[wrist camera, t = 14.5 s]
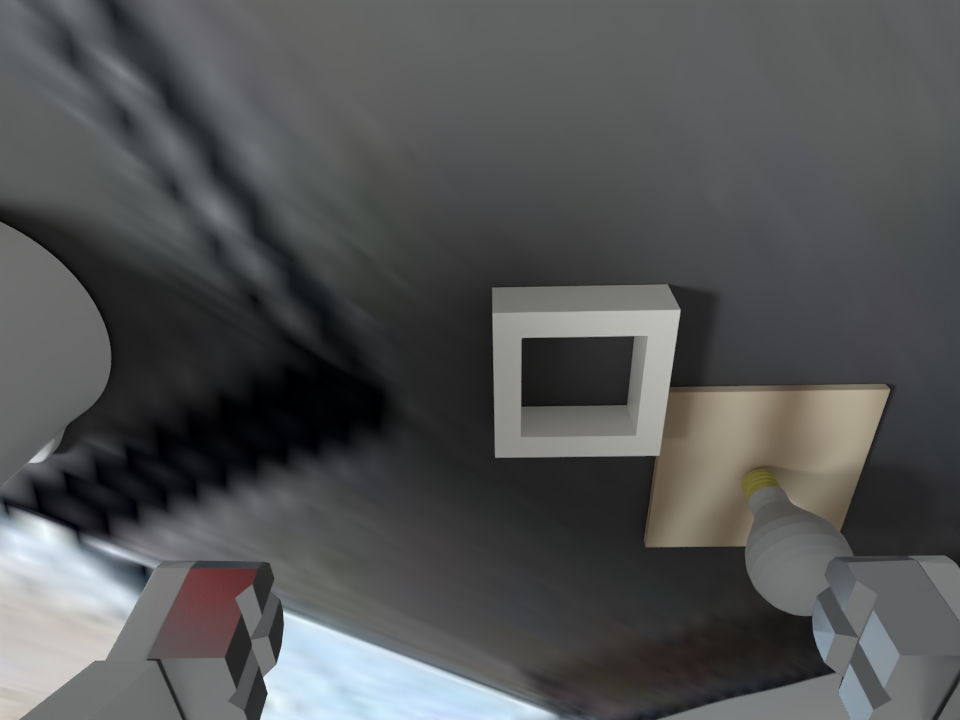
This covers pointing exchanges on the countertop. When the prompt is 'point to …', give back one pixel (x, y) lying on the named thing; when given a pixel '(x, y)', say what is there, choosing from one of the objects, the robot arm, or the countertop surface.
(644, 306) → the socket
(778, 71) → the countertop surface
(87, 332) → the robot arm
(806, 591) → the light bulb
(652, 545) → the board
